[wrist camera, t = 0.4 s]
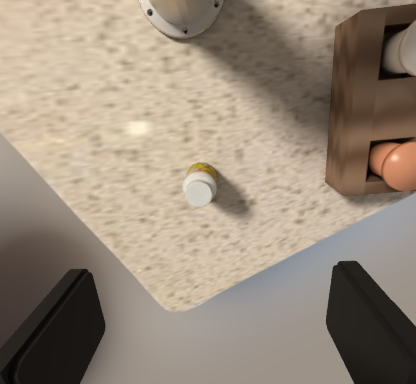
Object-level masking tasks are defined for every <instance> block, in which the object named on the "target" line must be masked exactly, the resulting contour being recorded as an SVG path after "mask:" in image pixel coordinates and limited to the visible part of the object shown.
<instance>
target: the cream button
mask: <svg viewBox="0 0 416 384" xmlns="http://www.w3.org/2000/svg"><path fill="white" fill-rule="evenodd" d="M380 68H381V70H382V71H383V72H385V73H387V74H391V75H395V74H401V73H408V74H410V75H412V76H416V20H415V21H414V22H413V23H412V24H411V25H410V26H409V27H408V28H407V29H405V30H403V31H400V32H397V33H395V34H393V35H391V36H390V37H388V38H387V39H386V40H385V41H384V42H383V44H382V51H381V59H380Z"/></svg>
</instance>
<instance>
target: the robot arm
mask: <svg viewBox="0 0 416 384" xmlns="http://www.w3.org/2000/svg"><path fill="white" fill-rule="evenodd" d="M138 1H139V4H140V6H141V9H142V11H143V12H144V14H145V16H146V17H147V19H148V20H149V21H150V22H151V24H152V25H153V26H154V27H155V28H157V29H158V30H159V31H160V32H162V33H164V34H165V35H168V36H170V37H173V38H180V39H184V38H191V37H194V36H197V35H199V34H201V33H203V32H204V31H205V30H207V29H208V28H209V27H210V26H211V25H212V24H213V22H214V21H215V20H216V18H217V16H218V15H219V13H220V11H221V8H222V5H223V2H224V0H138ZM216 4H217V5H218V7H217V8H215V5H216ZM150 13H153V15H152V16H150ZM184 31H188V32H187V34H185V33H184ZM326 324H327V329H328V331H329V333H330V335H331V337H332V339H333V341H334V343H335V345H336V347H337V349H338V351H339V353H340V355H341V357H342V359H343V361H344V364H345V366H346V368H347V370H348V372H349V374H350V376H351V378H352V380H353V382H354V384H416V326H415V325H414V324H413V323H412V322H411V321H410V320H409V319H408V317H407V316H406V315H405V314H404V313H403V312H402V311H401V310H400V308H399V307H398V306H397V305H396V304H395V303H394V302H393V301H392V300H391V299H390V298H389V297H388V296H387V295H386V294H385V292H384V291H383V290H382V289H381V288H380V287H379V286H378V284H377V283H376V282H375V281H374V280H373V279H372V278H371V276H370V275H369V274H368V273H367V272H366V271H365V270H364V269H363V268H362V266H361V265H360V264H359V263H358V262H357V261H339V262H338V264H337V265H335V266H334V267H333V271H332V279H331V286H330V293H329V300H328V308H327V315H326ZM104 332H105V321H104V317H103V314H102V309H101V306H100V302H99V298H98V294H97V290H96V286H95V283H94V279H93V275H92V273H90V272H88V270H87V269H71V270H69V271H68V272H67V273H66V274H65V275H64V277H63V278H62V279H61V280H60V281H59V282H58V283H57V285H56V286H55V287H54V288H53V289H52V290H51V291H50V293H49V294H48V295H47V296H46V297H45V298H44V299H43V301H42V302H41V303H40V304H39V305H38V306H37V307H36V309H35V310H34V311H33V312H32V313H31V314H30V315H29V317H28V318H27V319H26V320H25V321H24V322H23V323H22V325H21V326H20V327H19V328H18V329H17V331H15V333H14V334H13V335H12V336H11V337H10V338H9V340H8V341H7V342H6V343H5V344H4V345H3V346H2V347H1V349H0V384H80V382H81V380H82V378H83V376H84V374H85V371H86V370H87V367H88V365H89V363H90V361H91V359H92V357H93V355H94V353H95V351H96V349H97V347H98V345H99V343H100V341H101V338H102V337H103V334H104Z"/></svg>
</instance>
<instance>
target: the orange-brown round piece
mask: <svg viewBox="0 0 416 384" xmlns="http://www.w3.org/2000/svg"><path fill="white" fill-rule="evenodd" d="M367 168H368V170H369V171H371V172H372V173H374V174H377V175H379V176H381V177H382V178H383V180H384V182H385V183H386V184H387V185H389V186H390V187H392V188H394V189H397V190H400V191H412V190H416V142H406V143H403V144H398V143H394V142H389V141H384V142H380V143H377V144H376V145H374V146H373V147H372V148H371V149H370V150H369V156H368V164H367Z"/></svg>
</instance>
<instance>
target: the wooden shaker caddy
mask: <svg viewBox="0 0 416 384" xmlns="http://www.w3.org/2000/svg"><path fill="white" fill-rule="evenodd" d="M415 20H416V4H409V5H400V6H392V7H384V8H376V9H367V10H361V11H360V12H358V13H357V14H355V15H353V16H352V17H350V18H349V19H347V20H346V21H344V22H342V23H341V24H339V25H338V26H336V29H335V43H334V58H333V73H332V88H331V103H330V118H329V133H328V148H327V163H326V178H325V182H326V183H327V184H329V185H330V186H331V187H333V188H334V189H335V190H337V191H338V192H340V193H341V194H342V195H344V196H349V195H362V194H375V193H389V192H402V191H400V190H397V189H394V188H392V187H390V186H389V185H387V184H386V183H385V182H384V180H383V178H382V177H381V176H379V175H377V174H374V173H372V172H371V171H369V170H368V168H367V164H368V156H369V150H370V149H371V148H372V147H373V146H374V145H376V144H377V143H380V142H384V141H389V142H394V143H398V144H403V143H406V142H416V76H412V75H410V74H408V73H401V74H395V75H391V74H387V73H385V72H383V71H382V70H381V68H380V59H381V51H382V44H383V42H384V41H385V40H386V39H387V38H388V37H390V36H391V35H393V34H395V33H397V32H400V31H403V30H405V29H407V28H408V27H409V26H410V25H411V24H412V23H413V22H414V21H415ZM412 191H415V190H412Z"/></svg>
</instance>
